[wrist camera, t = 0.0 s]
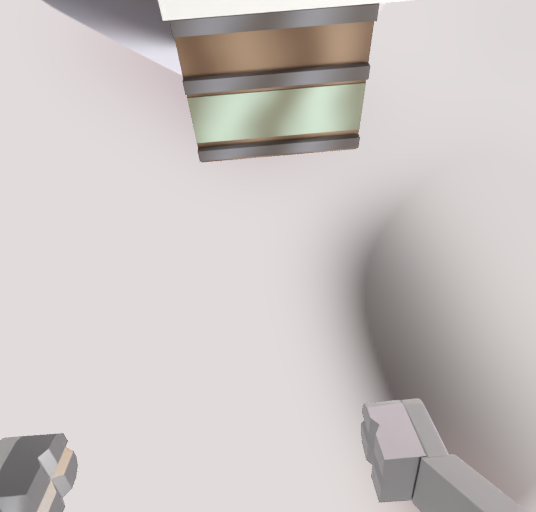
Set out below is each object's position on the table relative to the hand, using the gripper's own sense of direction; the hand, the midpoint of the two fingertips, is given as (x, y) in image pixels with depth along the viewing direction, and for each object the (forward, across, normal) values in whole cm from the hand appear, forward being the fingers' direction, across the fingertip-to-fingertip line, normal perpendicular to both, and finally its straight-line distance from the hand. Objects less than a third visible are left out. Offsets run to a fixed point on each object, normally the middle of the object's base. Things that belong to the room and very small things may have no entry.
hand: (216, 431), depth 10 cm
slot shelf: (+49, -4, -17) cm, 52 cm away
